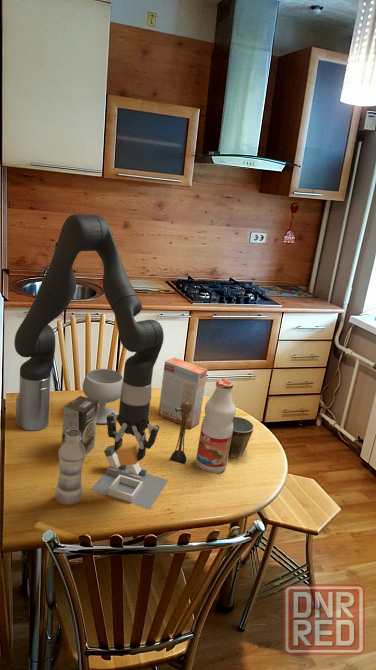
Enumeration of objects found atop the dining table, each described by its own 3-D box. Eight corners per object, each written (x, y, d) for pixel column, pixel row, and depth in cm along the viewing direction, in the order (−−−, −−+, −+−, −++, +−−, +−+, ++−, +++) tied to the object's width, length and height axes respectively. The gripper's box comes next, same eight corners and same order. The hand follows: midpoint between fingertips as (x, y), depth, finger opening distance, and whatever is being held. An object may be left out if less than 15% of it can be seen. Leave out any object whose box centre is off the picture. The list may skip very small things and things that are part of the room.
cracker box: (199, 423, 181) (208, 368, 174) (190, 429, 176) (199, 373, 169) (167, 409, 188) (174, 356, 181) (157, 415, 183) (164, 360, 176)
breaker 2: (131, 476, 143) (122, 457, 143) (135, 471, 146) (126, 452, 145) (137, 474, 143) (128, 455, 142) (141, 469, 145) (132, 450, 144)
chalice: (88, 428, 168) (91, 387, 163) (74, 409, 179) (77, 369, 174) (128, 422, 175) (132, 382, 170) (112, 404, 186) (116, 365, 181)
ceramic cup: (254, 453, 167) (260, 426, 164) (235, 463, 160) (241, 435, 157) (223, 436, 175) (228, 409, 172) (204, 445, 168) (208, 417, 165)
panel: (89, 493, 137) (90, 483, 136) (112, 466, 150) (113, 457, 149) (149, 513, 133) (150, 502, 132) (167, 483, 146) (169, 474, 145)
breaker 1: (111, 470, 145) (103, 451, 144) (116, 465, 147) (108, 446, 146) (117, 468, 144) (109, 449, 143) (122, 463, 147) (114, 444, 146)
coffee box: (79, 462, 150) (82, 412, 145) (60, 455, 152) (62, 406, 146) (95, 447, 158) (99, 400, 153) (76, 441, 160) (80, 394, 155)
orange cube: (120, 465, 133) (116, 451, 132) (127, 457, 137) (123, 443, 137) (135, 464, 132) (131, 450, 131) (142, 456, 136) (138, 442, 135)
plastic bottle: (57, 492, 136) (61, 425, 129) (83, 493, 137) (88, 427, 130) (52, 508, 130) (56, 438, 123) (80, 509, 131) (85, 441, 124)
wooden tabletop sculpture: (172, 467, 154) (181, 407, 147) (164, 459, 157) (172, 400, 151) (188, 463, 157) (197, 404, 150) (180, 455, 160) (189, 397, 154)
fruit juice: (232, 468, 157) (248, 384, 148) (210, 478, 151) (225, 391, 142) (210, 453, 164) (224, 372, 154) (189, 462, 157) (201, 378, 148)
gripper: (102, 396, 127) (97, 455, 133) (156, 410, 124) (149, 471, 129) (115, 385, 134) (110, 441, 140) (167, 398, 131) (160, 456, 136)
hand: (129, 455), depth 134 cm, fingers closed on orange cube, 5 cm apart
